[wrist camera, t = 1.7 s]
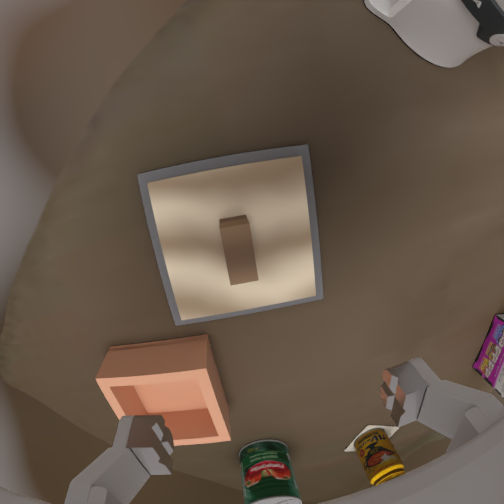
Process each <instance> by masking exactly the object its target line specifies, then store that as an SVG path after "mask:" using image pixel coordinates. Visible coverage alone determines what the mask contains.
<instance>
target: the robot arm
mask: <svg viewBox="0 0 504 504" xmlns="http://www.w3.org/2000/svg"><path fill="white" fill-rule="evenodd" d="M364 3H365V5H366V7H367V8H368V9H369V10H370V11H371V12H372V13H374V14H375V15H377V16H378V17H380V18H381V19H383V20H384V21H386V22H387V23H388V24H389V25H390V26H391V27H392V28H393V29H394V30H395V31H396V33H397V34H398V35H399V36H400V37H401V39H402V40H403V41H404V42H405V43H406V44H407V45H408V46H409V47H410V48H411V49H412V50H413V51H415V52H416V53H417V54H418V55H420V56H421V57H423V58H424V59H426V60H427V61H429V62H431V63H433V64H435V65H438V66H441V67H448V68H451V67H457V66H459V65H461V64H462V63H463V62H464V61H465V60H467V59H468V58H469V57H471V56H473V55H474V54H476V53H478V52H480V51H482V50H484V49H487V48H489V47H491V46H504V0H364ZM382 378H383V380H384V383H383V384H382V385H381V390H380V393H381V399H382V402H383V404H384V406H385V407H386V408H387V409H390V410H392V412H391V417H392V419H393V420H394V422H395V424H396V425H397V427H400V426H403V425H405V424H408V423H410V422H413V421H415V420H417V421H418V422H420V423H422V424H424V425H426V426H428V427H430V428H432V429H433V430H435V431H437V432H439V433H441V434H443V435H445V436H447V437H449V438H451V439H452V441H451V443H450V445H449V447H448V449H447V451H446V452H447V453H446V454H445V455H443V456H441V457H439V458H437V459H435V460H433V461H431V462H429V463H427V464H425V465H423V466H421V467H419V468H417V469H415V470H412V471H410V472H408V473H406V474H403V475H401V476H399V477H396V478H394V479H391V480H389V481H387V482H384V483H381V484H379V485H376V486H373V487H371V488H368V489H365V490H362V491H359V492H356V493H353V494H350V495H347V496H344V497H340V498H337V499H333V500H330V501H326V502H322V503H318V504H504V406H503V405H502V404H501V403H500V402H499V401H498V400H497V399H496V398H495V397H494V396H493V395H492V394H489V393H486V392H482V391H479V390H476V389H472V388H469V387H466V386H463V385H460V384H456V383H453V382H450V381H447V380H442V381H441V380H440V379H439V378H438V376H437V375H436V374H435V373H434V372H433V371H432V370H431V369H430V368H429V366H428V365H427V364H426V363H425V362H424V361H423V360H422V359H421V358H420V357H417V358H415V359H412V360H409V361H407V362H404V363H401V364H399V365H396V366H393V367H390V368H388V369H385V370H384V371H383V375H382ZM164 425H165V420H164V418H163V417H162V415H135V416H122V417H121V419H120V422H119V425H118V429H117V432H116V436H115V440H114V443H113V447H112V448H108V449H107V450H106V451H105V452H104V453H103V454H101V455H100V456H99V457H98V458H97V459H96V460H95V461H94V462H93V463H91V464H90V465H89V466H88V467H87V468H86V469H85V470H83V471H82V472H81V473H80V474H79V475H78V476H76V477H75V478H74V479H73V480H72V481H71V483H70V486H69V489H68V493H67V496H66V500H65V503H64V504H129V503H130V502H131V500H132V499H133V498H134V497H135V495H136V494H137V493H138V491H139V490H140V489H141V488H142V486H143V485H144V484H145V482H146V481H147V480H148V478H149V477H150V475H162V474H171V473H172V462H173V460H172V459H171V457H170V454H171V453H172V452H173V450H174V442H173V436H172V433H171V431H170V429H169V428H168V427H166V426H164ZM0 504H51V503H47V502H44V501H40V500H37V499H34V498H31V497H28V496H25V495H21V494H19V493H16V492H13V491H10V490H8V489H5V488H3V487H0Z"/></svg>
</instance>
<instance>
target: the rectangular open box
mask: <svg viewBox="0 0 504 504" xmlns="http://www.w3.org/2000/svg"><path fill="white" fill-rule="evenodd" d="M95 379H96V381H97V383H98V385H99V386H100V388H101V390H102V392H103V393H104V395H105V397H106V399H107V400H108V402H109V404H110V405H111V407H112V409H113V410H114V412H115V414H116V415H117V417H118V418H119V420H120V419H121V417H122V416H135V415H162V417H163V418H164V420H165V425H164V426H166V427H168V428H169V429H170V431H171V433H172V436H173V442H174V446H176V445H191V444H203V443H213V442H222V441H230V440H231V432H230V419H229V406H228V403H227V400H226V396H225V393H224V390H223V387H222V383H221V380H220V377H219V373H218V370H217V367H216V363H215V360H214V356H213V353H212V349H211V346H210V342H209V339H208V335H207V334H204V335H197V336H191V337H184V338H177V339H170V340H162V341H155V342H147V343H138V344H129V345H120V346H110V347H109V350H108V352H107V354H106V356H105V358H104V360H103V362H102V365H101V367H100V369H99V371H98V374H97V376H96V378H95Z"/></svg>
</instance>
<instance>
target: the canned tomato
mask: <svg viewBox="0 0 504 504" xmlns="http://www.w3.org/2000/svg"><path fill="white" fill-rule="evenodd" d="M239 458H240V468H241V476H242V484H243V493H244V501H245V504H302V500H301V498H300V494H299V490H298V486H297V482H296V479H295V475H294V471H293V467H292V463H291V459H290V455H289V452H288V447H287V445H286V444H285V443H283V442H282V441H279V440H274V439H264V440H258V441H254V442H251V443H249V444H247V445H245V446H244V447H242V449H241V450H240V452H239Z"/></svg>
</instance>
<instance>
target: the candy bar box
mask: <svg viewBox="0 0 504 504" xmlns="http://www.w3.org/2000/svg"><path fill="white" fill-rule="evenodd" d="M473 368H474V369H475V370H476V371H477V372H478V373H479V374H480V375H481V376H482V377H483V378H484V379H485V380H486V381H487V382H488V383H489V384H490V385H491V386H492V387H493V388H494V389H495V390H496V391H497V392H498V393H499V394H500V395H501V396H502V397H503V398H504V314H498V315H495V316H494V319H493V321H492V324H491V326H490V329H489V331H488V334H487V336H486V339H485V341H484V343H483V346H482V348H481V350H480V352H479V355H478V357H477V359H476V361H475V363H474V365H473Z"/></svg>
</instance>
